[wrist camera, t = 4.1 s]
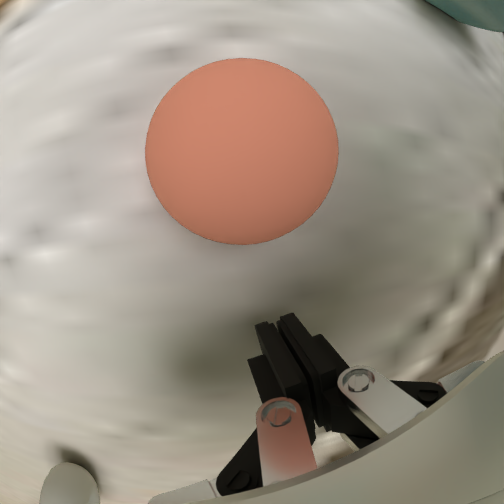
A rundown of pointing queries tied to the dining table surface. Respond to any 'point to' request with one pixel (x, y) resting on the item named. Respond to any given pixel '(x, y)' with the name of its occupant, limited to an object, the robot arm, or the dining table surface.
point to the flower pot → (475, 12)
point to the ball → (241, 151)
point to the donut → (69, 486)
